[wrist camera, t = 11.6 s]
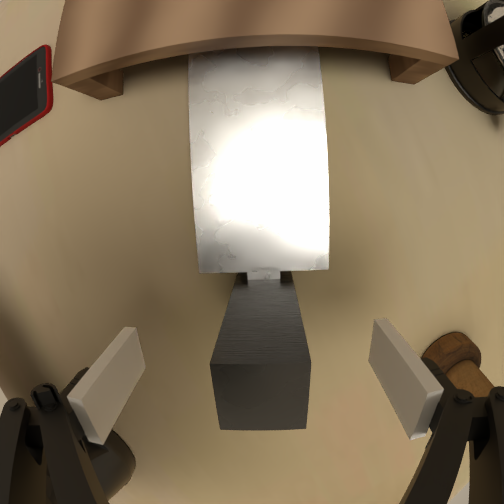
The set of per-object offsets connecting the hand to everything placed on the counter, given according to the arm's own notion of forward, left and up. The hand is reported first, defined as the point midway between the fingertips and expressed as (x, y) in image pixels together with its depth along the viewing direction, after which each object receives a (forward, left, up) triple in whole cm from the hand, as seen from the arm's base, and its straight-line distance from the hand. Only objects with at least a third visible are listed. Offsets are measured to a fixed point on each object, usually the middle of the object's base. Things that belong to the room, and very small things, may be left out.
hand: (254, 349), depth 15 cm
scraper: (0, +9, -7) cm, 11 cm away
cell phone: (-24, +19, -8) cm, 32 cm away
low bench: (+1, +22, -7) cm, 23 cm away
